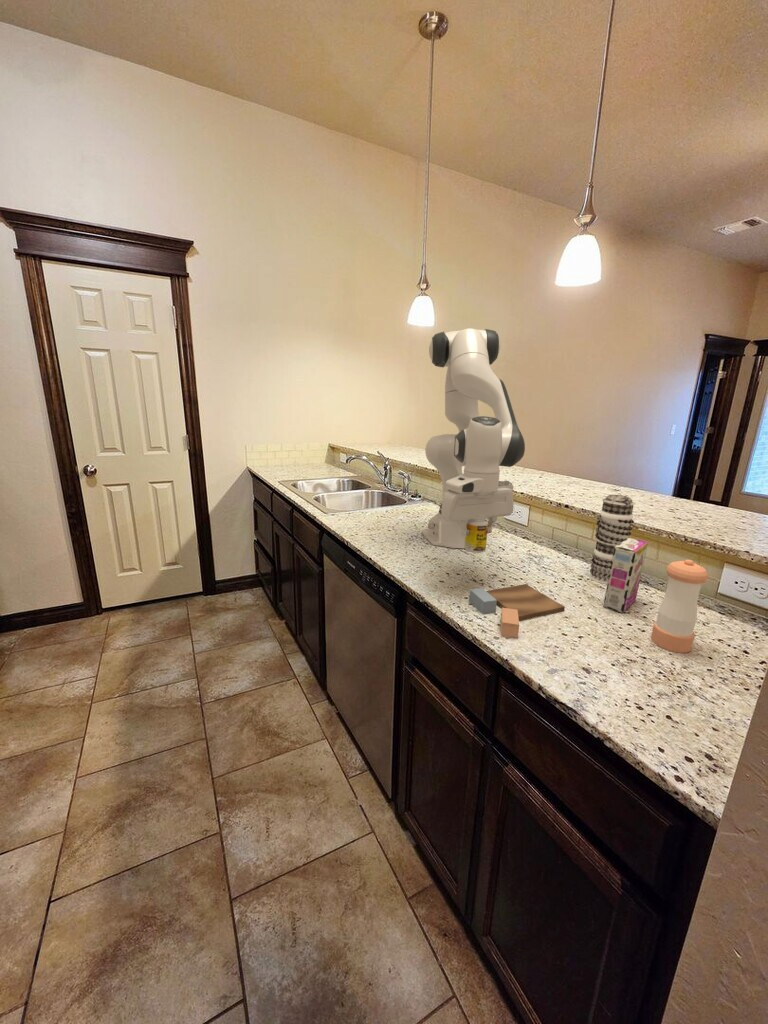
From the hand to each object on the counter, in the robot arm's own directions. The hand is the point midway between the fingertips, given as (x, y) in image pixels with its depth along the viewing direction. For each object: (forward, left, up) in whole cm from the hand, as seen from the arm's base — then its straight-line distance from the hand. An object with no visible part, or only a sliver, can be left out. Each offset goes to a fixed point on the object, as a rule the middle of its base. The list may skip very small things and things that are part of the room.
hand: (476, 534), depth 108 cm
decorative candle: (+7, +42, -16) cm, 45 cm away
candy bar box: (+20, +32, -16) cm, 41 cm away
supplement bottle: (0, 0, -5) cm, 5 cm away
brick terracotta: (+20, -4, -16) cm, 26 cm away
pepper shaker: (+37, +26, -16) cm, 48 cm away
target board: (+11, +8, -16) cm, 21 cm away
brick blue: (+9, -3, -16) cm, 19 cm away
